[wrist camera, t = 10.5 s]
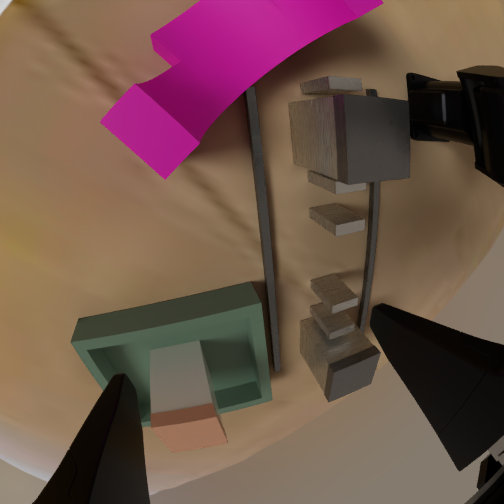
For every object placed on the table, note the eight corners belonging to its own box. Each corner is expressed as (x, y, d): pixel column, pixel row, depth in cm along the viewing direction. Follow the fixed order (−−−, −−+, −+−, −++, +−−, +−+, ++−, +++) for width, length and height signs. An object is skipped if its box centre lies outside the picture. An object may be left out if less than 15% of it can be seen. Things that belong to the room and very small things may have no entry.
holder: (371, 87, 18) (436, 85, 12) (358, 339, 30) (391, 379, 24) (243, 85, 16) (281, 64, 10) (273, 369, 28) (297, 420, 22)
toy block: (265, -24, 12) (309, -73, 6) (320, 30, 15) (383, 3, 9) (102, 102, 14) (61, 88, 8) (168, 160, 17) (165, 179, 11)
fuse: (199, 339, 23) (216, 416, 16) (210, 372, 25) (228, 442, 18) (149, 349, 22) (151, 427, 15) (165, 381, 24) (172, 452, 17)
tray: (250, 281, 22) (261, 302, 20) (263, 379, 28) (272, 400, 26) (78, 318, 20) (70, 342, 17) (133, 406, 26) (134, 427, 23)
